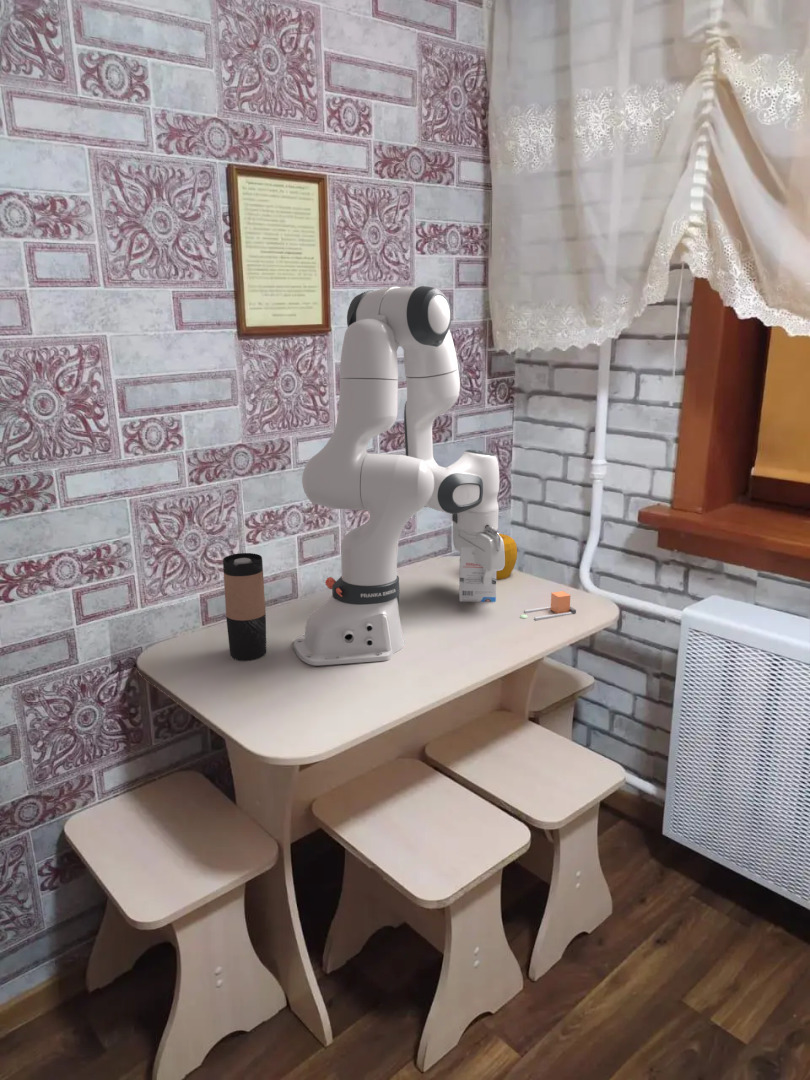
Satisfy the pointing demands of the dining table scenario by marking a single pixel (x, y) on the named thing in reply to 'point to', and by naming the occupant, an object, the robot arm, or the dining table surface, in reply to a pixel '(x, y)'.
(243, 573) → the travel mug
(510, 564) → the apple
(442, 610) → the dining table surface
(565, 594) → the block
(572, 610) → the breaker panel
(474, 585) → the ink box
